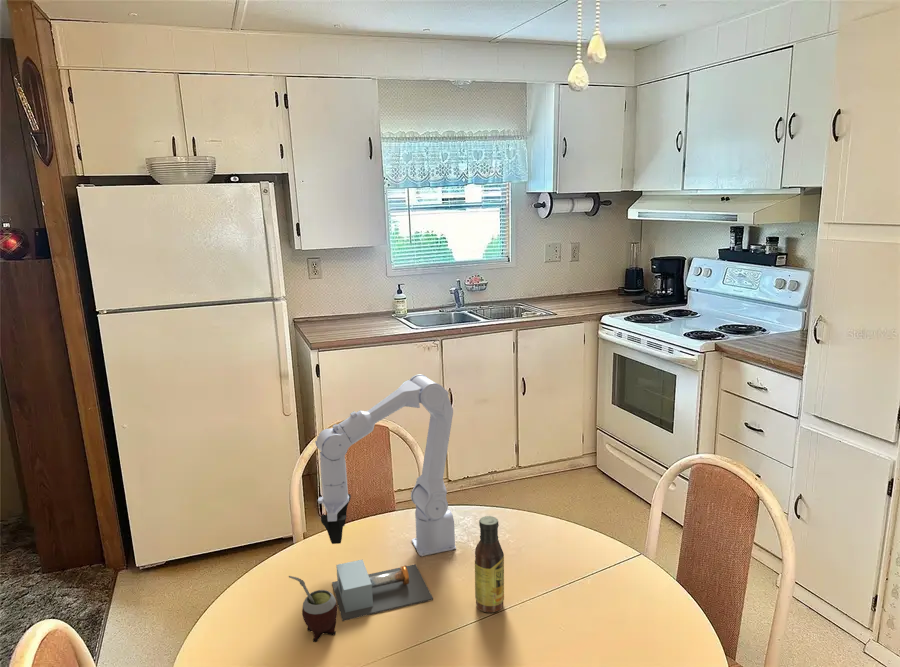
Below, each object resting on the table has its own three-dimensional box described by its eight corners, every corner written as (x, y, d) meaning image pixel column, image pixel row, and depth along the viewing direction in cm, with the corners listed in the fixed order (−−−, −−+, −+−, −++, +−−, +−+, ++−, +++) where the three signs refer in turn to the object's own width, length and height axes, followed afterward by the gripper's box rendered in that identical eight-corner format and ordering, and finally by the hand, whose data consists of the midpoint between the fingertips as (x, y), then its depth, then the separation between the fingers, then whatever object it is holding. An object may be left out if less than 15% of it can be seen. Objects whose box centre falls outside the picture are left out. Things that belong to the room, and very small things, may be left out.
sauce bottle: (502, 616, 133) (501, 530, 129) (473, 612, 135) (471, 527, 130) (505, 596, 140) (505, 514, 135) (477, 594, 141) (476, 512, 137)
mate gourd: (344, 623, 132) (340, 559, 129) (327, 649, 125) (322, 581, 122) (312, 618, 134) (307, 554, 131) (293, 643, 127) (287, 576, 124)
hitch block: (363, 581, 146) (362, 559, 145) (373, 607, 137) (371, 584, 136) (337, 587, 144) (336, 564, 143) (345, 614, 135) (343, 590, 134)
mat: (415, 565, 152) (415, 564, 152) (433, 599, 139) (433, 598, 139) (332, 583, 146) (332, 582, 146) (342, 621, 133) (342, 619, 133)
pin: (404, 577, 146) (404, 562, 145) (409, 587, 142) (408, 571, 142) (357, 588, 143) (356, 572, 142) (361, 598, 139) (360, 582, 138)
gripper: (321, 467, 152) (325, 519, 155) (311, 496, 138) (316, 552, 141) (350, 466, 153) (354, 517, 156) (344, 494, 139) (348, 550, 141)
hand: (338, 534), depth 148 cm, fingers open, 7 cm apart
